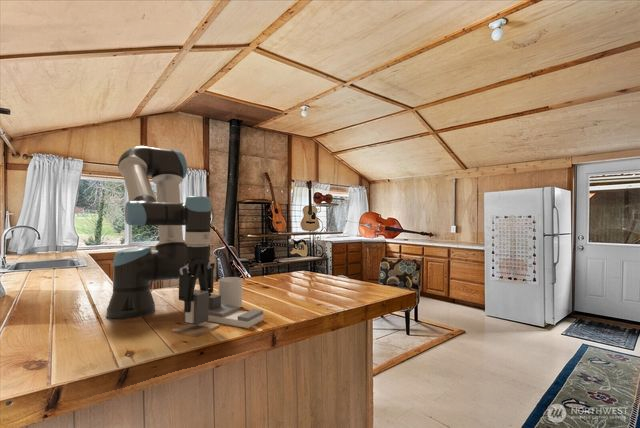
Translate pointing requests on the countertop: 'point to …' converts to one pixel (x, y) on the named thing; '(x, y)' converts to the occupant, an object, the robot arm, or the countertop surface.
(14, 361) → the countertop surface
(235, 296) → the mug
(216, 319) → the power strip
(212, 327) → the coaster
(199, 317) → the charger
